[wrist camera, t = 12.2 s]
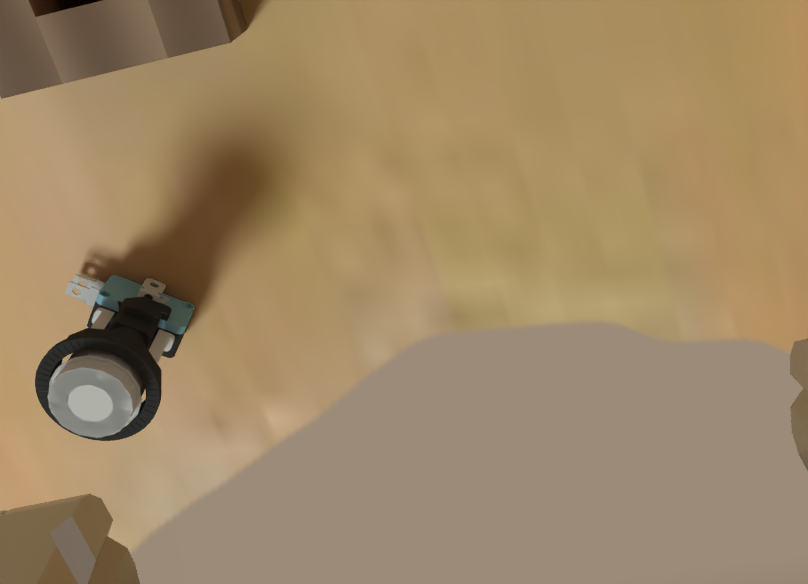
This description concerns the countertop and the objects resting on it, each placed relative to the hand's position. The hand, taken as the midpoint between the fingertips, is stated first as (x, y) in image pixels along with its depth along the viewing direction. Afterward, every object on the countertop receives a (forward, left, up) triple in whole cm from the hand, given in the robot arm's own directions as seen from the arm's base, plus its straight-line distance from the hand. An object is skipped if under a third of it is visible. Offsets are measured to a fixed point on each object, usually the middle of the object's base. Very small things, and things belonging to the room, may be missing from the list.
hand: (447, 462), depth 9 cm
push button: (+16, +9, -31) cm, 36 cm away
